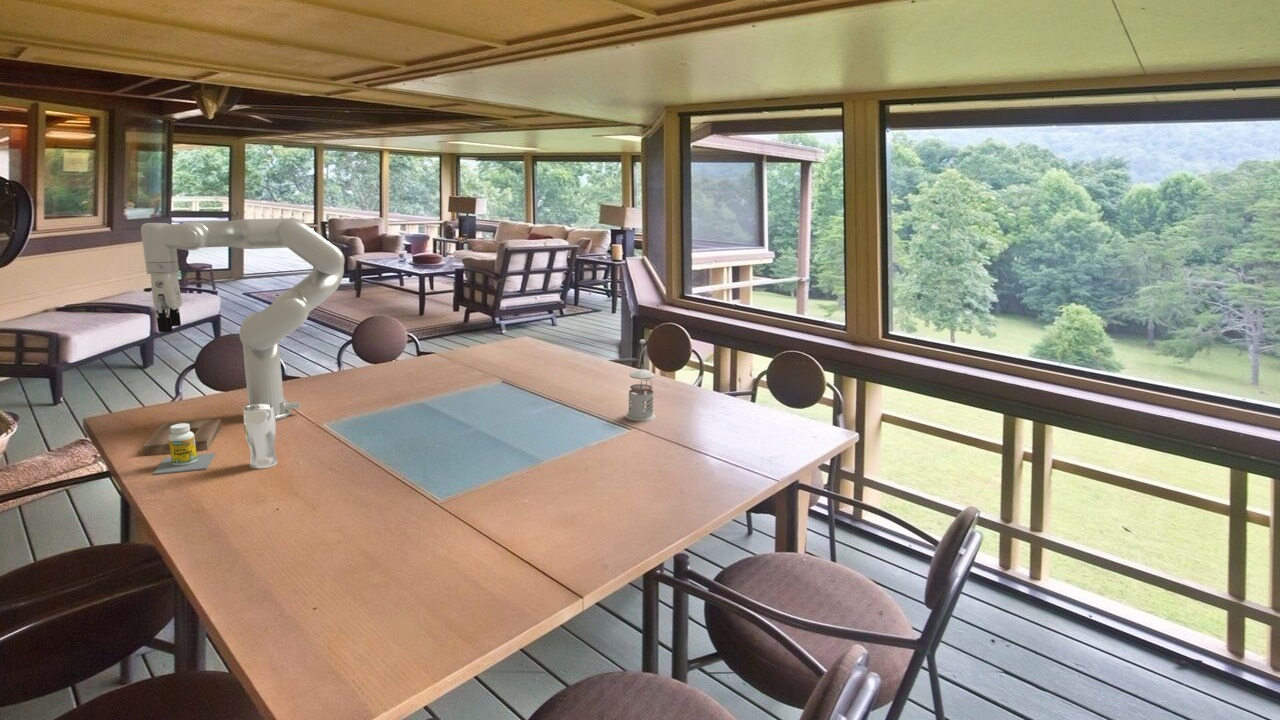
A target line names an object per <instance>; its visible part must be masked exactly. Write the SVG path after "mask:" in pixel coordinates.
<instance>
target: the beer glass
mask: <svg viewBox="0 0 1280 720" xmlns="http://www.w3.org/2000/svg"><path fill="white" fill-rule="evenodd" d="M276 421H277V420H275V414H274V409H273V405H272V404H267V403H261V404H253V405H249V404H248V405H245V406H244V407H243V408H242V422H243V431H244V435H245V438H246V441H247V444H248V447H249V452H250V459H249V461H250V462H249V467H250V469H254V470H255V469H256V470H263V469H268V468H272V467H274V466H276V465H277V464H278V458H277V456H276V453H275V451H276V450H275V443H276V442H275V441H276V430H277V425H276V423H277V422H276Z"/></svg>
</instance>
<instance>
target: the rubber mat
mask: <svg viewBox="0 0 1280 720" xmlns="http://www.w3.org/2000/svg"><path fill="white" fill-rule="evenodd" d="M215 455H216V452H211V453H202V454H197V461H196V462H194V463H192V464H189V465H184V466H176V465H173V464H172V460H171V456H168V457H164V458H163V459H162V461H161V462H160V463H159V464H158V466H157V467H156V469H155V470H154V472H153V473H152V474H153V476H155V475H166V474H176V473H185V472H186V473H187V472H195V471H204V470H207V469H208V468H209V466H210V465H211V463H212V462H213V459H214V458H215Z"/></svg>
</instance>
